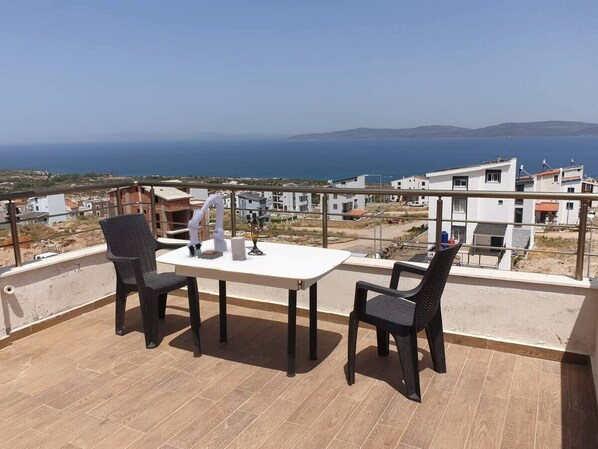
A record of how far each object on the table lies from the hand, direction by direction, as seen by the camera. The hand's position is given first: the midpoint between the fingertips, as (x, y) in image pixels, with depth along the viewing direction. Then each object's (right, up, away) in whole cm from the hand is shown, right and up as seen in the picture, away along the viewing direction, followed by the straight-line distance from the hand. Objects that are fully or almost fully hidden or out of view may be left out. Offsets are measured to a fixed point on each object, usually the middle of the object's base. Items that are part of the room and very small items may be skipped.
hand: (195, 254), depth 319 cm
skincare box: (+34, -3, -13) cm, 36 cm away
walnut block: (+12, -1, -6) cm, 14 cm away
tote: (+12, -2, -6) cm, 14 cm away
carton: (0, -1, 0) cm, 1 cm away
